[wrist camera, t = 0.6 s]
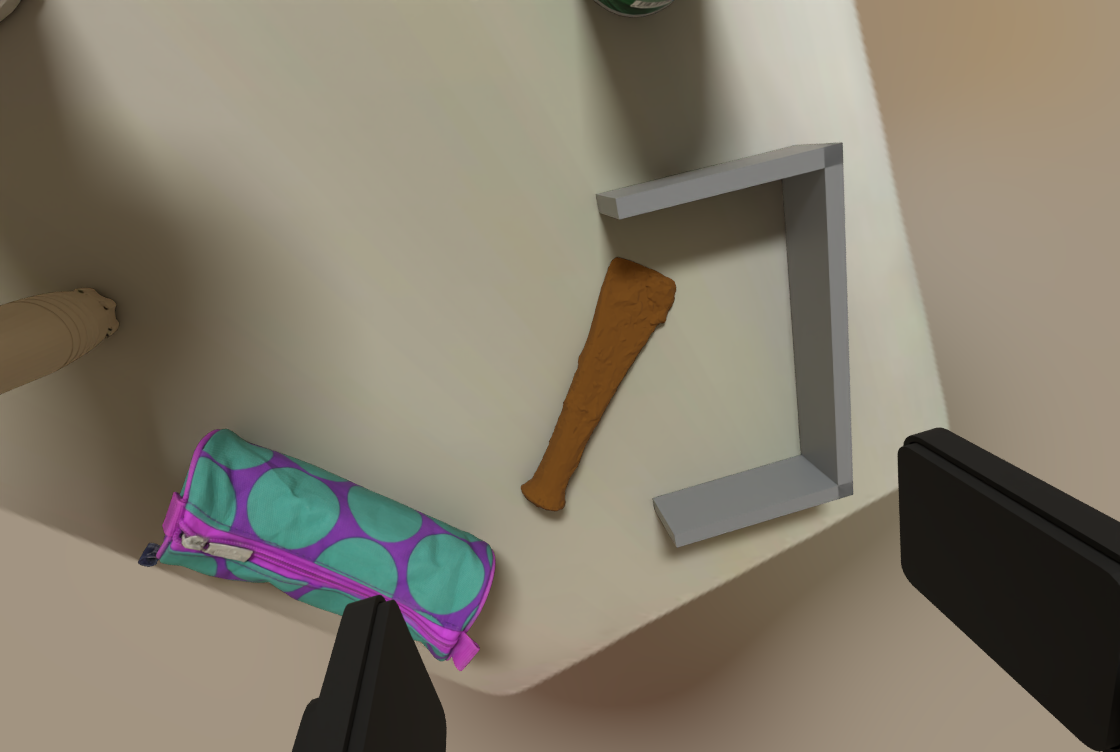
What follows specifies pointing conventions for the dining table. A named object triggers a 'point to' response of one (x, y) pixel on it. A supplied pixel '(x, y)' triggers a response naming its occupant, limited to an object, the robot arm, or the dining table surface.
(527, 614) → the dining table surface
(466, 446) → the dining table surface
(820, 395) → the box
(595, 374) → the primitive tool
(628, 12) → the canned tomato
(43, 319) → the handle
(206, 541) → the pencil case
